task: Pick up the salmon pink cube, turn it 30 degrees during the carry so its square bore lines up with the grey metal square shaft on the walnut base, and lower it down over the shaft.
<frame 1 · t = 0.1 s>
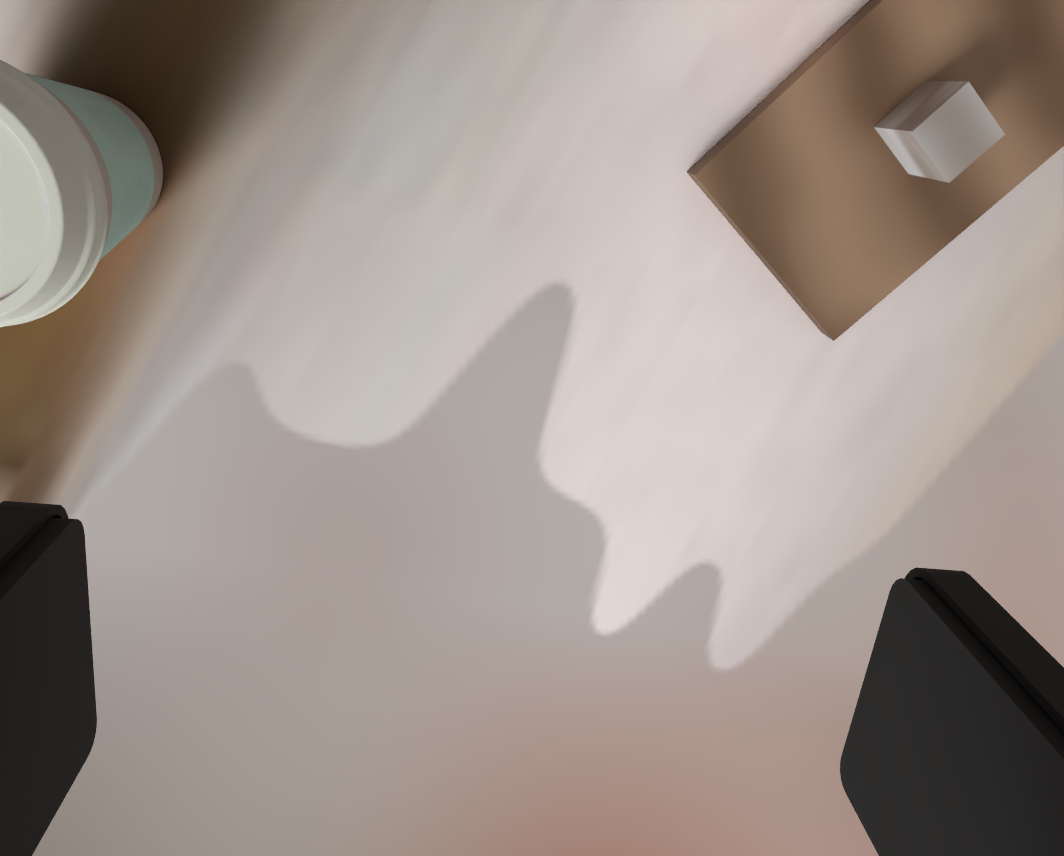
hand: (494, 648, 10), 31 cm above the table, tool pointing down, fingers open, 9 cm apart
coffee cup: (93, 164, 38), on the table
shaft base: (900, 126, 39), on the table
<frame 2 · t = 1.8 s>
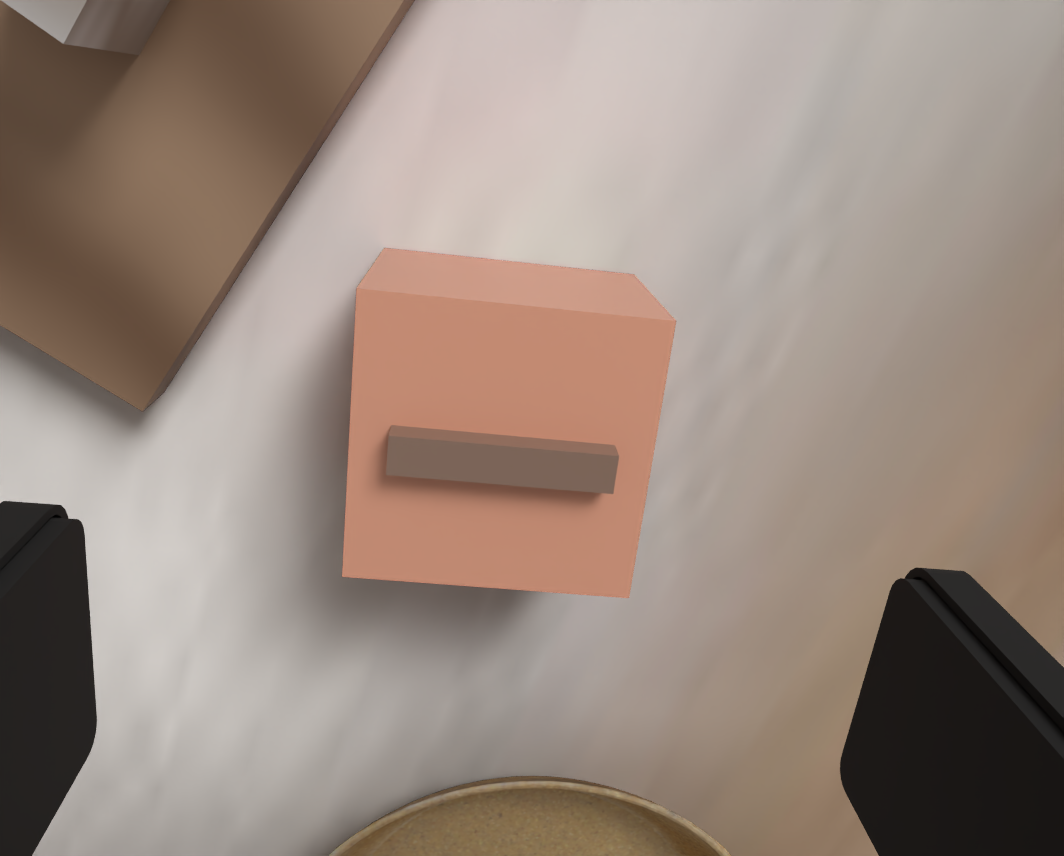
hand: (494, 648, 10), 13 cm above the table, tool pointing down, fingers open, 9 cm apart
salmon pink cube: (497, 381, 22), on the table
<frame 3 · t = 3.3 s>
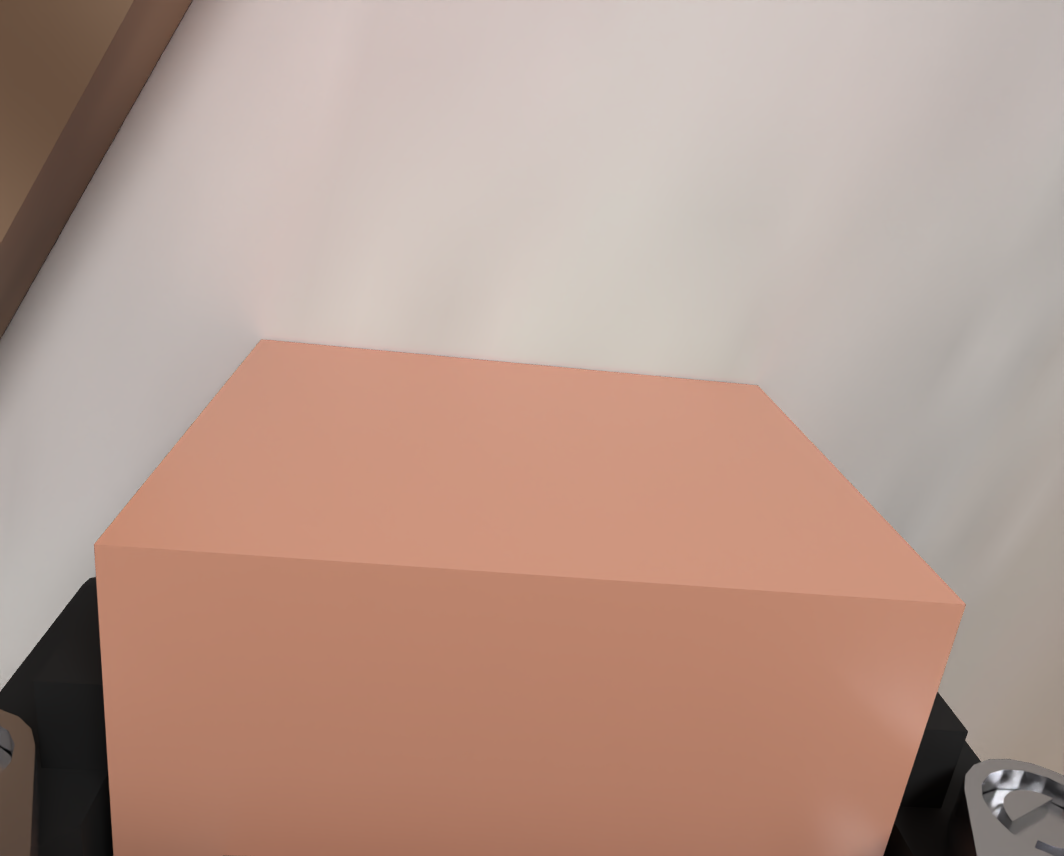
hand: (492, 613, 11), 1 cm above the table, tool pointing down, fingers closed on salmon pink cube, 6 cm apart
salmon pink cube: (491, 580, 12), on the table, touching gripper
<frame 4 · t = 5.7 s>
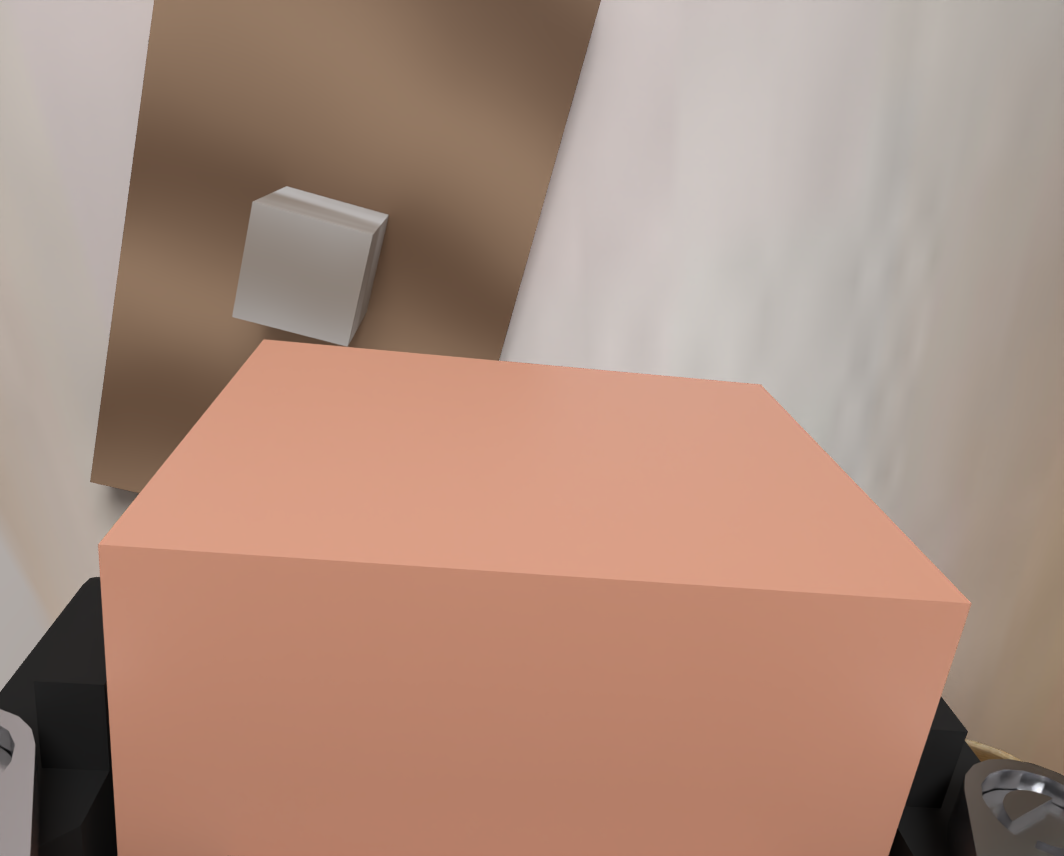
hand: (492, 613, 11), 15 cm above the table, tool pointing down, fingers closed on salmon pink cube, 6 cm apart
salmon pink cube: (494, 580, 12), point 15 cm above the table, touching gripper
plant saucer: (842, 847, 33), on the table
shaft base: (336, 241, 24), on the table
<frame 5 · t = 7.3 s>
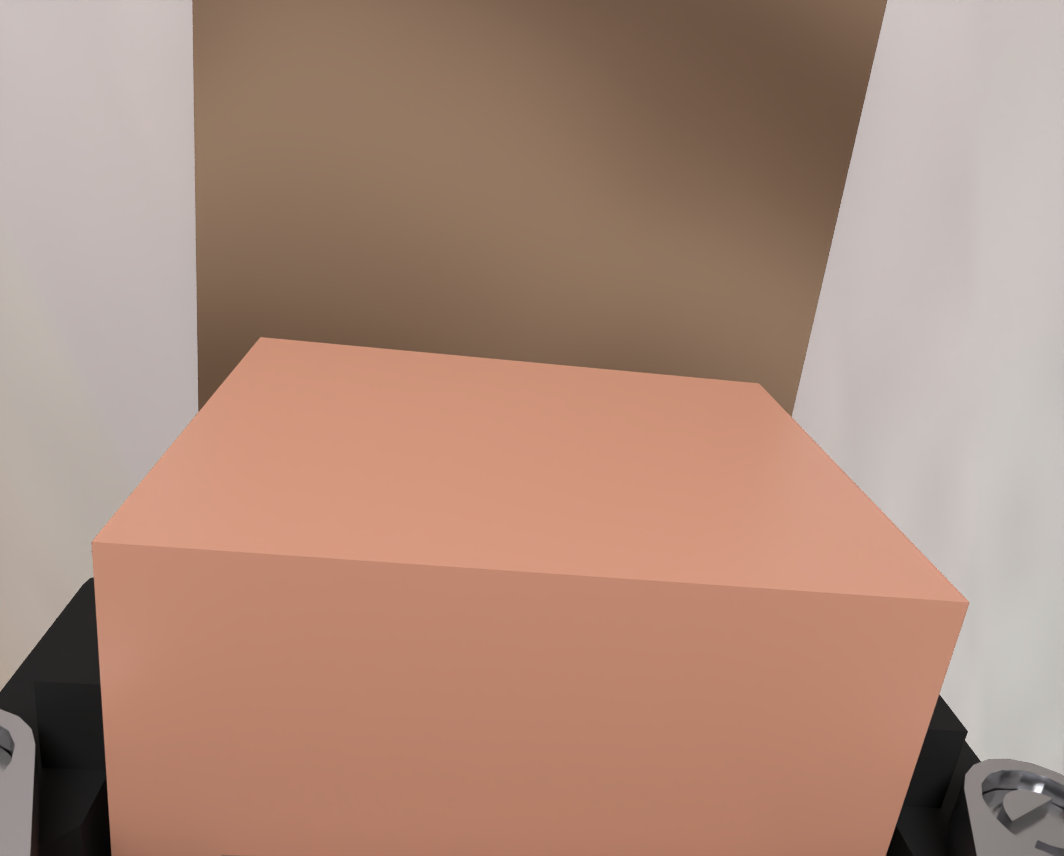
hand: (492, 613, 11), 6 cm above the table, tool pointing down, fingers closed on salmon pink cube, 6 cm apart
salmon pink cube: (491, 579, 12), point 5 cm above the table, touching gripper
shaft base: (493, 435, 17), on the table
when the fingers open (3 cm above the table, at t = 8.4 s): salmon pink cube stays where it is, resting on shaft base.
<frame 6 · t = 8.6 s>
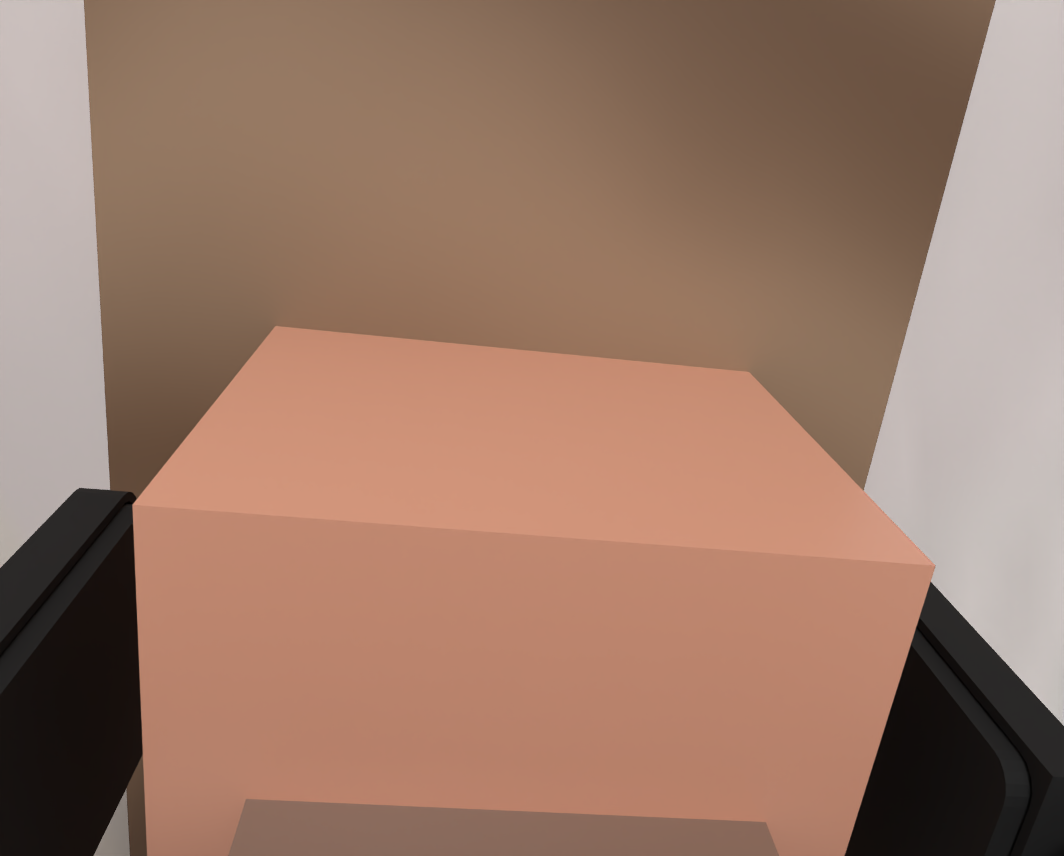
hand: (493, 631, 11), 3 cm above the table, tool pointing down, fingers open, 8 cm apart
salmon pink cube: (494, 559, 12), point 1 cm above the table, touching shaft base
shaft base: (488, 510, 14), on the table
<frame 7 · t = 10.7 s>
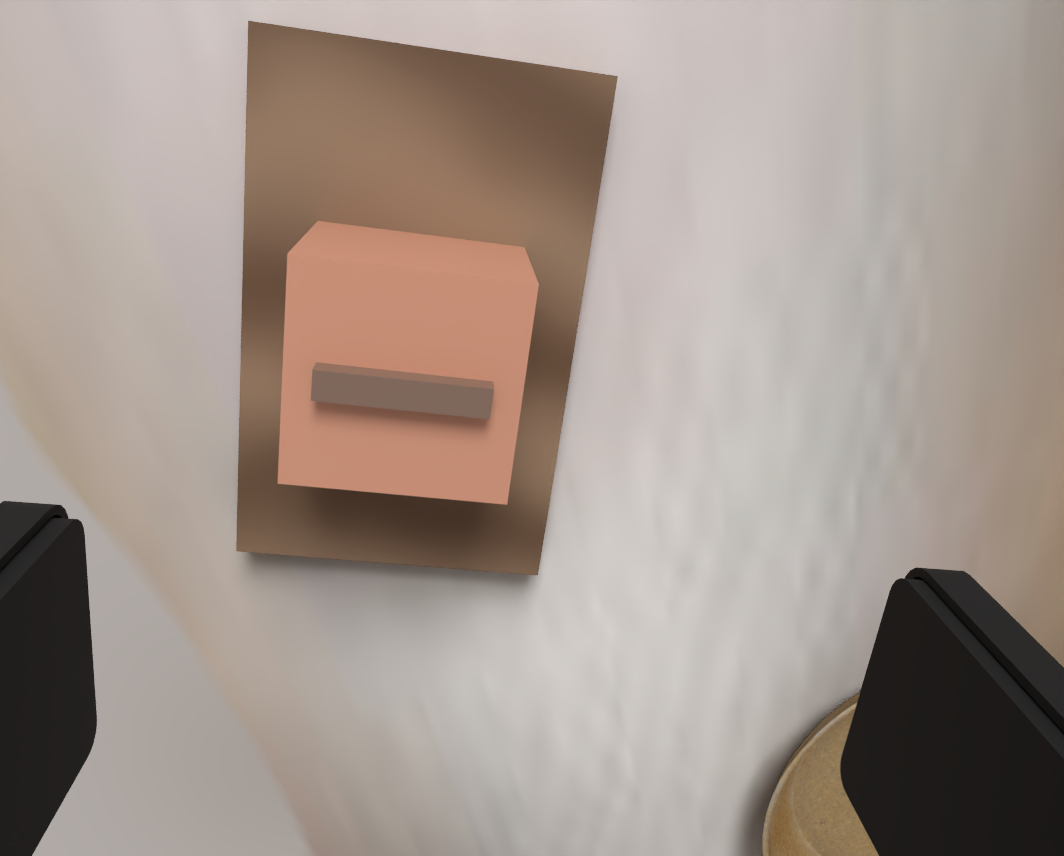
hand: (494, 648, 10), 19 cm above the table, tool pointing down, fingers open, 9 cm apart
salmon pink cube: (413, 333, 27), point 1 cm above the table, touching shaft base
plant saucer: (914, 769, 38), on the table
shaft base: (413, 320, 29), on the table
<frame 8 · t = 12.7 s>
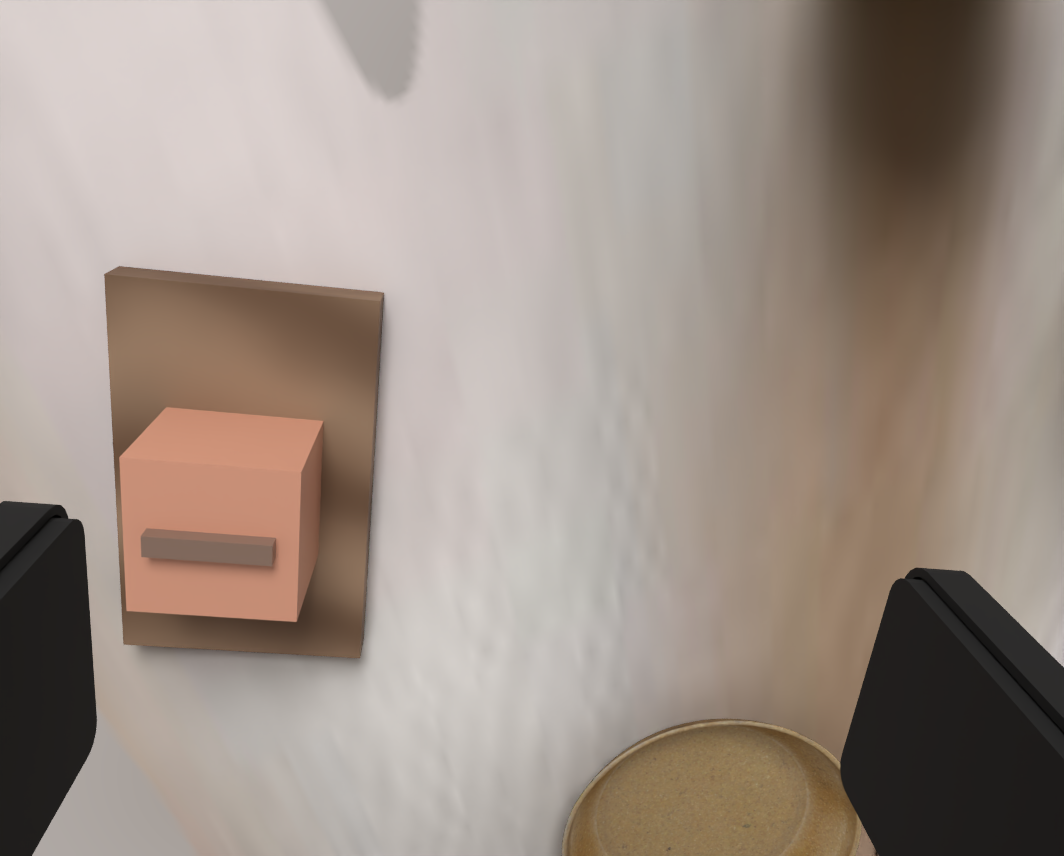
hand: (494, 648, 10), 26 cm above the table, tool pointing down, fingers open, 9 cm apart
salmon pink cube: (245, 483, 36), point 1 cm above the table, touching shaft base
plant saucer: (699, 802, 46), on the table
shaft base: (252, 468, 38), on the table
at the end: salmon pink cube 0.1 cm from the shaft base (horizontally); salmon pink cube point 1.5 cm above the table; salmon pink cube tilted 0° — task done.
